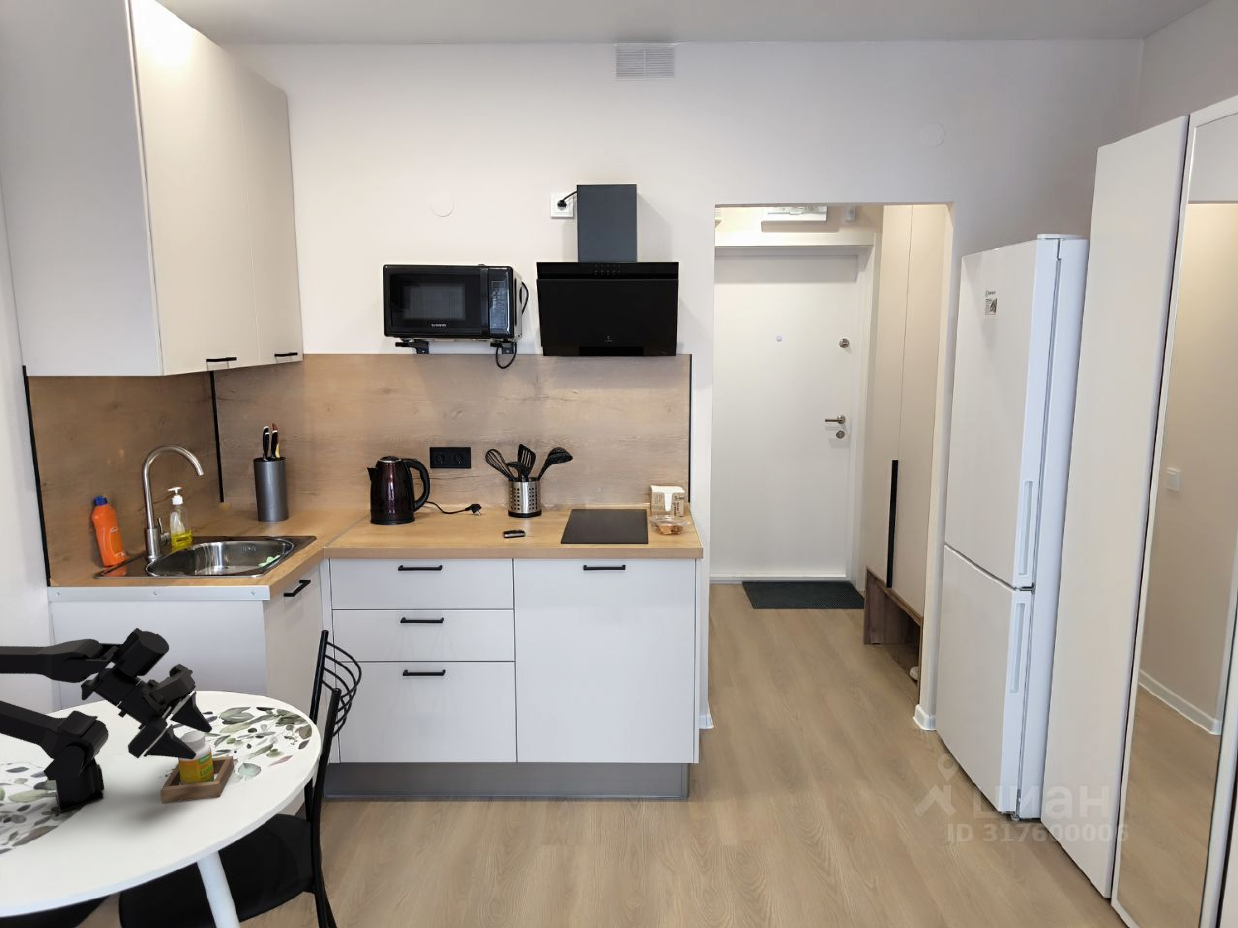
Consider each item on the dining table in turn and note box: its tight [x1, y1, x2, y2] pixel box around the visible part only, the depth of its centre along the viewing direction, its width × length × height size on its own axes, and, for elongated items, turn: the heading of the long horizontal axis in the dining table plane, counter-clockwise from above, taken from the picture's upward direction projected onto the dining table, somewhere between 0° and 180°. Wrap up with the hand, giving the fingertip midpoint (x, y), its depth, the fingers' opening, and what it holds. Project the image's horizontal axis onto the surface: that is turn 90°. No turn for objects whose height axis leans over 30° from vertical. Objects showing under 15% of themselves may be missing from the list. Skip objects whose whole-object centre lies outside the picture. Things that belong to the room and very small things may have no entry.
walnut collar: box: [160, 755, 235, 804], centre depth 147 cm, size 10×10×2 cm
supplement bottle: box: [177, 730, 215, 785], centre depth 147 cm, size 5×5×10 cm
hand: (202, 743), depth 146 cm, fingers open, 9 cm apart
